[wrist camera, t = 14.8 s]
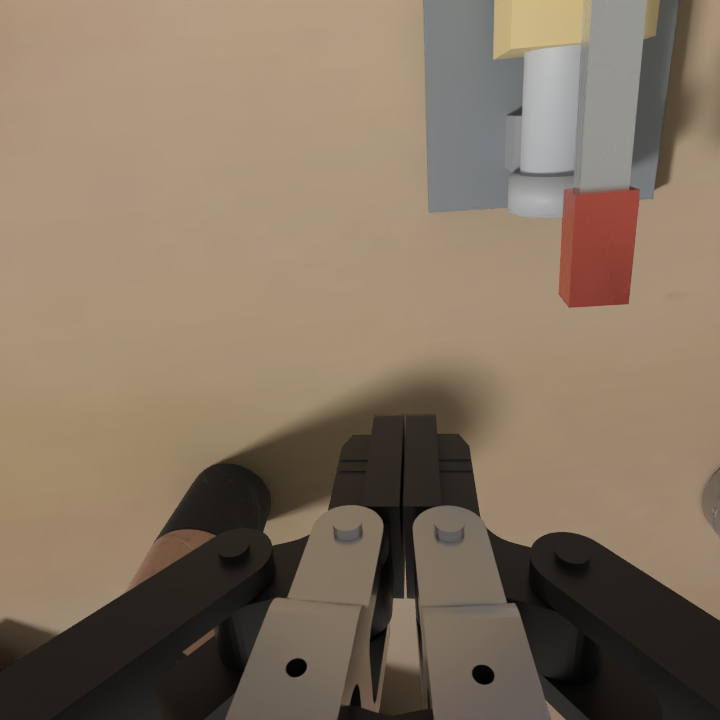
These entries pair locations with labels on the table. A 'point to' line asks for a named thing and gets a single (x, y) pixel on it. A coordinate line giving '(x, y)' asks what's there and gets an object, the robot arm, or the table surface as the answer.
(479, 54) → the valve stand
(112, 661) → the robot arm
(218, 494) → the travel mug
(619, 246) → the lever
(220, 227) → the table surface
